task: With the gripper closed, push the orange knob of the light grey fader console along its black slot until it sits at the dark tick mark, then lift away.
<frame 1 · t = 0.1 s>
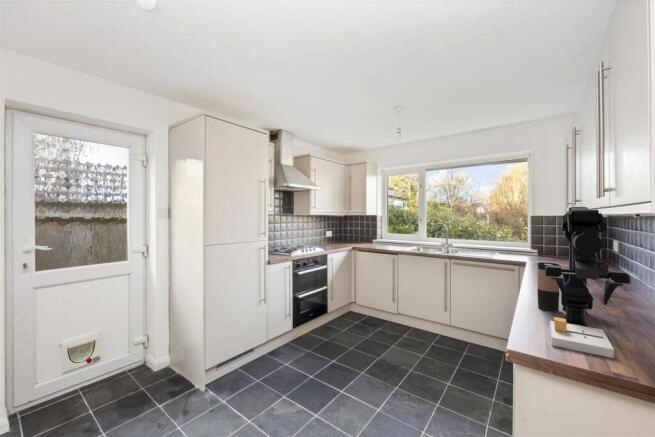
hand: (584, 302, 87), 15 cm above the counter, fingers open, 9 cm apart
fader console: (578, 340, 93), on the counter
aerosol can: (574, 311, 122), on the counter
travel mug: (548, 309, 125), on the counter
fader knob: (560, 324, 96), point 4 cm above the counter, slide at 0.0 cm
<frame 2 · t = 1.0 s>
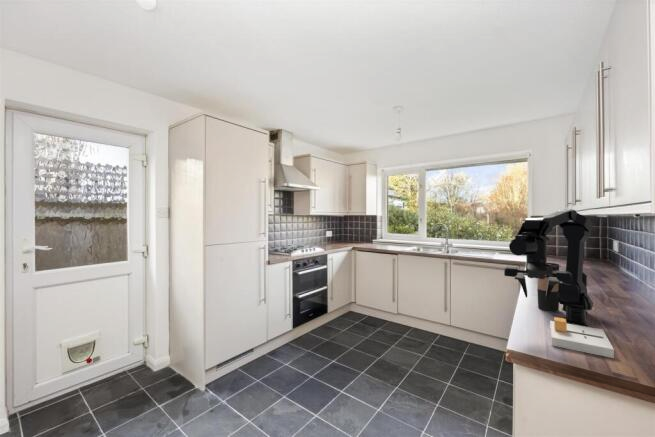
hand: (536, 298, 99), 12 cm above the counter, fingers open, 5 cm apart
nothing on the counter moved.
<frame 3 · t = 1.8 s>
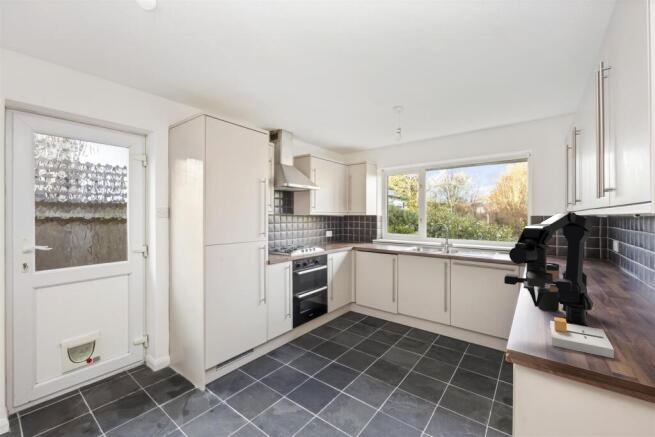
hand: (536, 306, 99), 9 cm above the counter, fingers closed
nothing on the counter moved.
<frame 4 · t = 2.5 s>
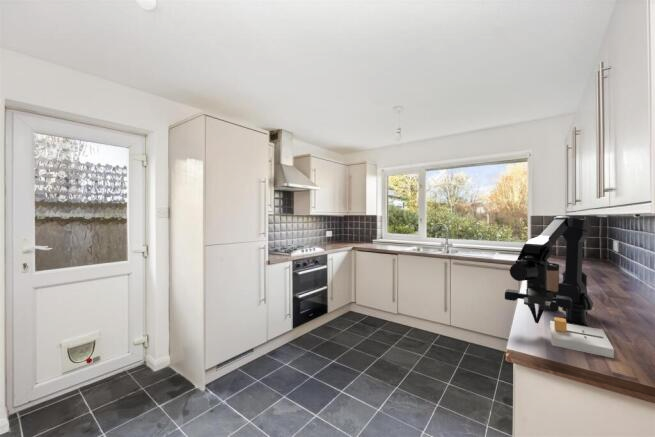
hand: (536, 322, 99), 3 cm above the counter, fingers closed
nothing on the counter moved.
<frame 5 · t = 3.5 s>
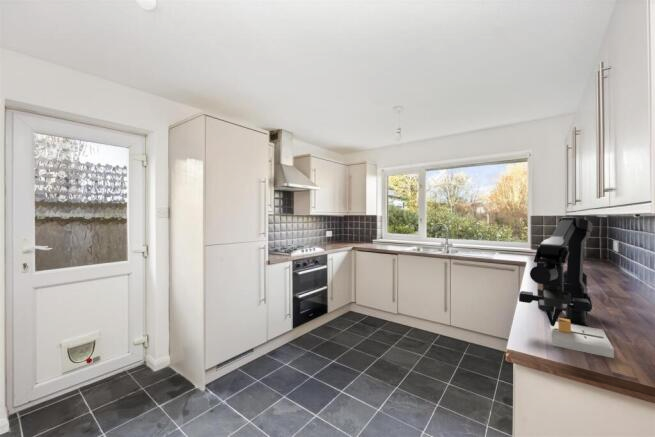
hand: (552, 325, 97), 3 cm above the counter, fingers closed
fader knob: (564, 325, 95), point 4 cm above the counter, slide at 1.1 cm, touching gripper
everything else where it was.
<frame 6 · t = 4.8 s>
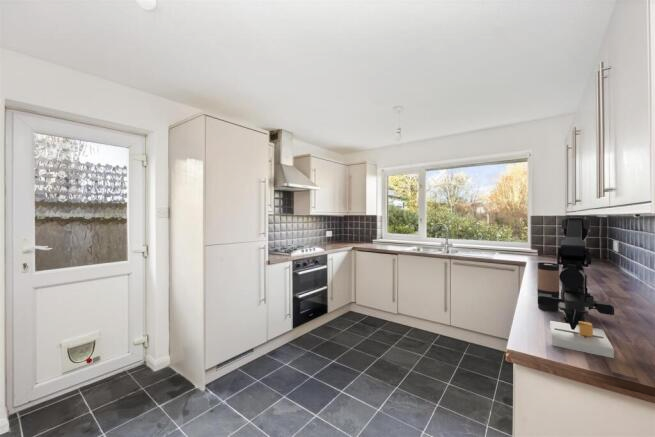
hand: (572, 329, 94), 3 cm above the counter, fingers closed
fader knob: (585, 328, 92), point 4 cm above the counter, slide at 6.3 cm, touching gripper
everything else where it was.
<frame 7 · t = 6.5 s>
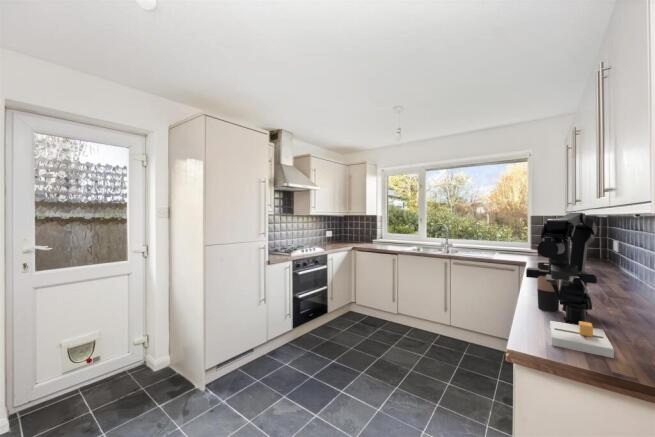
hand: (559, 299, 99), 12 cm above the counter, fingers closed
fader knob: (585, 328, 92), point 4 cm above the counter, slide at 6.3 cm
everything else where it was.
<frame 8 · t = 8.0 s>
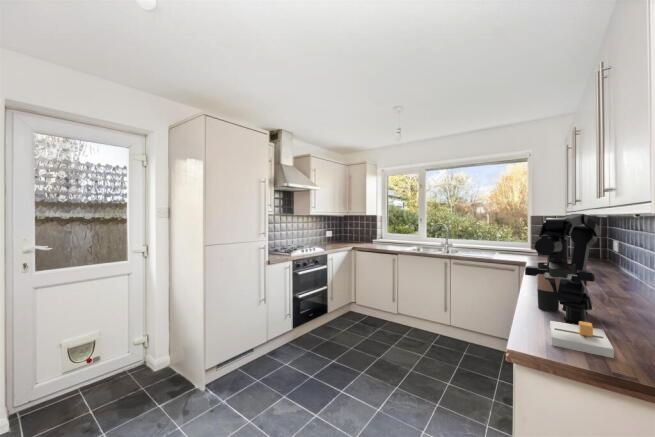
hand: (557, 297, 101), 12 cm above the counter, fingers closed
nothing on the counter moved.
at the end: fader knob slide at 6.3 cm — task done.
